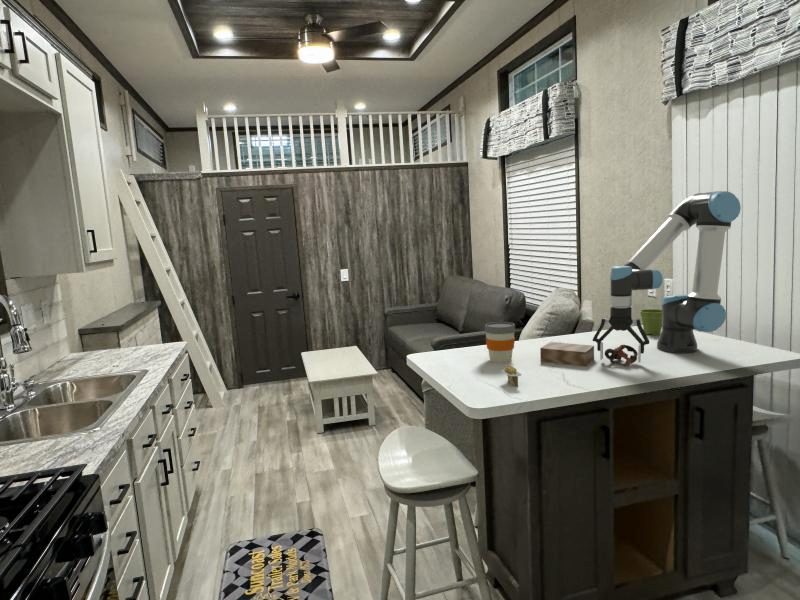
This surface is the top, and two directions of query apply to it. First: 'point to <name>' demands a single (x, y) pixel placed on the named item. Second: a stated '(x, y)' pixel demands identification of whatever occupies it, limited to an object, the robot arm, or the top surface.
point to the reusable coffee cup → (500, 340)
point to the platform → (512, 374)
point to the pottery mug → (621, 354)
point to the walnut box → (567, 353)
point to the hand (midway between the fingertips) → (620, 360)
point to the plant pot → (651, 321)
